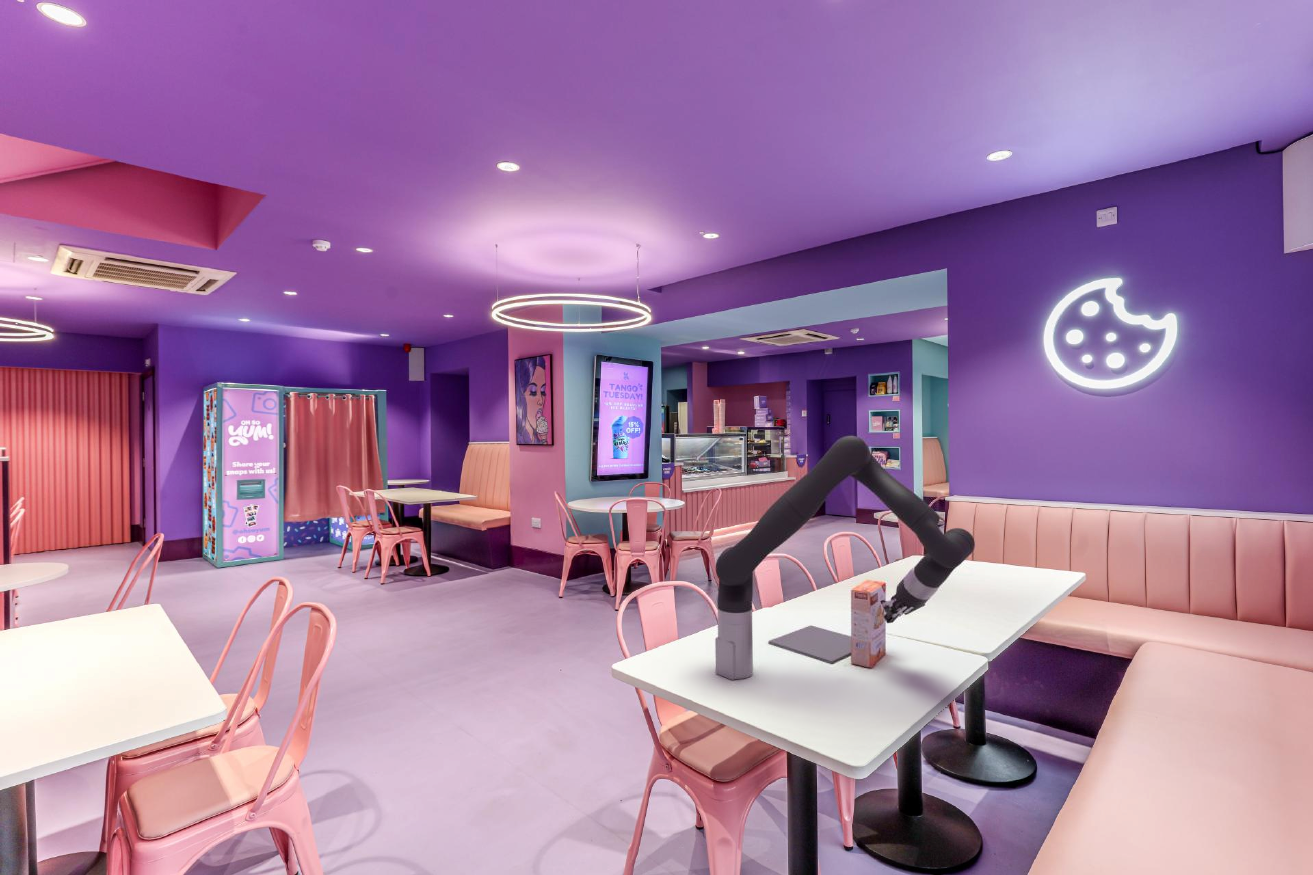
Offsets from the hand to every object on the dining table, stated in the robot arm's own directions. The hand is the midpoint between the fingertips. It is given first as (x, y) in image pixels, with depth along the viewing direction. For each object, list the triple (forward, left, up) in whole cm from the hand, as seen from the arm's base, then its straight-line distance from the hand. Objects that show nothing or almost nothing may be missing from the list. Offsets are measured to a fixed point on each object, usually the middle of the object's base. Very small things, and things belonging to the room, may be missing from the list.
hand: (887, 619), depth 159 cm
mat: (+2, +22, -13) cm, 26 cm away
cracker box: (+2, +7, -13) cm, 15 cm away
